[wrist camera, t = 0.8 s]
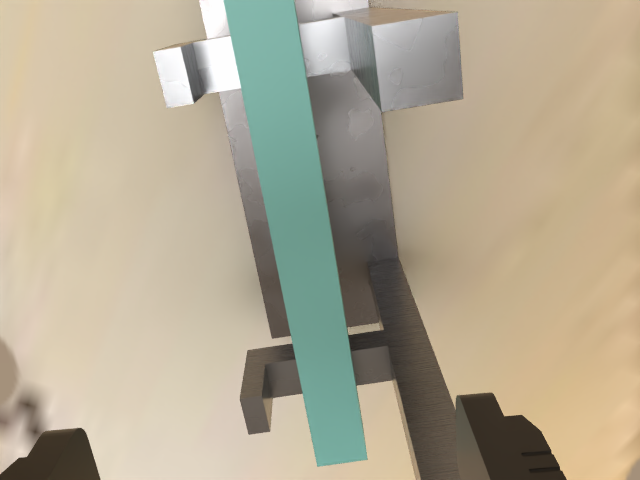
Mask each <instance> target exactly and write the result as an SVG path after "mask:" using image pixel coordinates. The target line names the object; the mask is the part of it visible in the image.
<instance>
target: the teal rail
mask: <svg viewBox="0 0 640 480" xmlns="http://www.w3.org/2000/svg"><path fill="white" fill-rule="evenodd" d="M223 1H224V6H225V11H226V16H227V21H228V26H229V31H230V36H231V41H232V46H233V51H234V56H235V61H236V66H237V71H238V76H239V80H240V85H241V90H242V95H243V100H244V105H245V110H246V115H247V120H248V125H249V130H250V135H251V140H252V145H253V150H254V155H255V160H256V165H257V170H258V175H259V180H260V184H261V189H262V194H263V199H264V204H265V209H266V214H267V219H268V224H269V229H270V234H271V239H272V244H273V249H274V254H275V259H276V264H277V269H278V274H279V279H280V284H281V289H282V293H283V298H284V303H285V308H286V313H287V318H288V323H289V328H290V333H291V338H292V343H293V348H294V353H295V358H296V363H297V368H298V373H299V378H300V383H301V388H302V393H303V398H304V402H305V407H306V412H307V417H308V422H309V427H310V432H311V437H312V442H313V447H314V452H315V457H316V462H317V467H319V466H326V465H333V464H340V463H347V462H354V461H361V460H368V459H367V452H366V445H365V438H364V431H363V424H362V418H361V411H360V405H359V399H358V393H357V386H356V380H355V374H354V368H353V361H352V355H351V349H350V343H349V336H348V330H347V324H346V318H345V312H344V305H343V299H342V293H341V287H340V280H339V274H338V268H337V262H336V255H335V249H334V243H333V237H332V230H331V224H330V218H329V212H328V206H327V199H326V193H325V187H324V181H323V174H322V168H321V162H320V156H319V149H318V143H317V137H316V131H315V124H314V118H313V112H312V106H311V99H310V93H309V87H308V81H307V75H306V68H305V62H304V56H303V50H302V43H301V37H300V31H299V25H298V18H297V12H296V6H295V0H223Z"/></svg>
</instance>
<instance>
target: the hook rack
mask: <svg viewBox="0 0 640 480" xmlns="http://www.w3.org/2000/svg"><path fill="white" fill-rule="evenodd" d="M199 3H200V7H201V12H202V16H203V21H204V26H205V30H206V35H207V39H204V40H199V41H193V42H187V43H181V44H175V45H172V46H169V47H166V48H163V49H159V50H156V51H153V54H154V58H155V62H156V66H157V70H158V74H159V78H160V82H161V86H162V90H163V94H164V98H165V102H166V106H167V108H171V107H177V106H183V105H189V104H194V103H195V102H196V101H197V100H198V99H199V98H201V97H202V96H203V95H204V94H208V93H214V92H219V95H220V100H221V104H222V109H223V114H224V118H225V123H226V128H227V132H228V137H229V141H230V146H231V151H232V155H233V160H234V165H235V169H236V174H237V178H238V183H239V188H240V192H241V197H242V202H243V206H244V211H245V216H246V220H247V225H248V229H249V234H250V239H251V243H252V248H253V253H254V257H255V262H256V266H257V271H258V276H259V280H260V285H261V290H262V294H263V299H264V303H265V308H266V313H267V317H268V322H269V327H270V331H271V336H272V338H279V337H286V336H291V333H290V328H289V323H288V318H287V313H286V308H285V303H284V298H283V293H282V289H281V284H280V279H279V274H278V269H277V264H276V259H275V254H274V249H273V244H272V239H271V234H270V229H269V224H268V219H267V214H266V209H265V204H264V199H263V194H262V189H261V184H260V180H259V175H258V170H257V165H256V160H255V155H254V150H253V145H252V140H251V135H250V130H249V125H248V120H247V115H246V110H245V105H244V100H243V95H242V90H241V85H240V80H239V76H238V71H237V66H236V61H235V56H234V51H233V46H232V41H231V36H230V31H229V26H228V21H227V16H226V11H225V6H224V1H223V0H199ZM295 6H296V12H297V18H298V25H299V31H300V37H301V43H302V50H303V56H304V62H305V68H306V75H307V81H308V87H309V93H310V99H311V106H312V112H313V118H314V124H315V131H316V137H317V143H318V149H319V156H320V162H321V168H322V174H323V181H324V187H325V193H326V199H327V206H328V212H329V218H330V224H331V230H332V237H333V243H334V249H335V255H336V262H337V268H338V274H339V280H340V287H341V293H342V299H343V305H344V312H345V318H346V324H347V327H352V326H359V325H366V324H372V323H379V326H380V331H373V332H367V333H360V334H353V335H348V336H349V343H350V349H351V355H352V361H353V368H354V374H355V380H356V386H357V385H364V384H370V383H377V382H384V381H391V380H392V381H393V385H394V389H395V393H396V397H397V402H398V406H399V410H400V414H401V419H402V423H403V427H404V431H405V435H406V440H407V444H408V448H409V452H410V457H411V461H412V465H413V469H414V474H415V478H416V480H460V475H459V470H458V463H457V449H456V410H455V407H454V405H453V402H452V399H451V397H450V394H449V391H448V389H447V386H446V383H445V381H444V378H443V375H442V373H441V370H440V367H439V365H438V362H437V359H436V357H435V354H434V351H433V349H432V346H431V343H430V341H429V338H428V335H427V333H426V330H425V327H424V325H423V322H422V319H421V317H420V314H419V311H418V309H417V306H416V303H415V301H414V298H413V295H412V293H411V290H410V287H409V285H408V282H407V279H406V276H405V274H404V271H403V268H402V266H401V263H400V260H399V258H398V251H397V242H396V234H395V225H394V217H393V208H392V200H391V191H390V183H389V174H388V166H387V157H386V149H385V140H384V132H383V123H382V114H381V112H386V111H392V110H398V109H404V108H411V107H417V106H423V105H429V104H435V103H441V102H447V101H454V100H460V99H463V87H462V71H461V56H460V41H459V26H458V12H449V11H430V10H412V9H394V8H375V7H369V4H368V0H295ZM296 394H302V388H301V383H300V378H299V373H298V368H297V363H296V358H295V353H294V348H293V344H287V345H280V346H273V347H267V348H260V349H253V350H248V351H247V357H246V363H245V369H244V376H243V382H242V388H241V394H240V402H241V406H242V410H243V414H244V418H245V422H246V426H247V430H248V434H256V433H263V432H270V427H271V414H272V401H273V398H275V397H282V396H289V395H296Z"/></svg>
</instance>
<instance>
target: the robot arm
mask: <svg viewBox="0 0 640 480" xmlns="http://www.w3.org/2000/svg"><path fill="white" fill-rule="evenodd" d="M456 449H457V463H458V470H459V475H460V480H567V479H566V477H565V476H564V474H563V472H562V471H561V470H560V466H559V464H558V462H557V460H556V459H555V457H554V455H553V454H552V453H551V449H550V447H549V445H548V444H547V442H546V440H545V438H544V436H543V434H542V432H541V431H540V430H539V429H538V428H537V427H536V426H534V425H533V424H532V423H531V422H530V421H528V420H527V419H526V418H525V417H524V416H522V415H516V416H505V417H504V415H503V413H502V411H501V409H500V407H499V404H498V402H497V400H496V398H495V396H494V394H493V393H480V394H469V395H457V397H456ZM0 480H100V476H99V473H98V470H97V467H96V463H95V460H94V457H93V453H92V450H91V447H90V444H89V440H88V437H87V434H86V432H85V431H84V430H83V429H82V428H74V429H63V430H51V431H45V432H44V433H42V434H41V436H40V437H39V439H38V440H37V442H36V444H35V445H34V447H33V448H32V450H31V452H30V453H29V455H28V456H27V457H24V458H18V459H17V460H16V461H15V462H14V463H13V464H11V465H10V466H9V467H8V468H7V469H6V470H5V471H3V472H2V473H1V474H0Z"/></svg>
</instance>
